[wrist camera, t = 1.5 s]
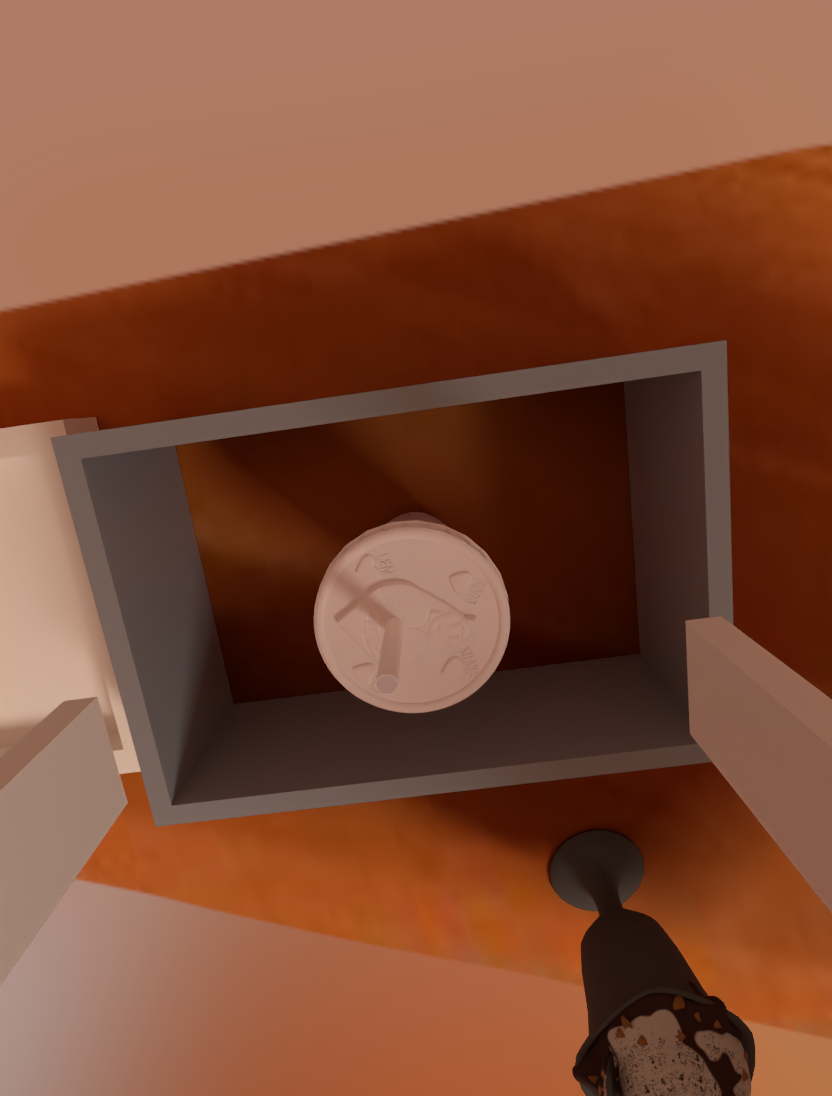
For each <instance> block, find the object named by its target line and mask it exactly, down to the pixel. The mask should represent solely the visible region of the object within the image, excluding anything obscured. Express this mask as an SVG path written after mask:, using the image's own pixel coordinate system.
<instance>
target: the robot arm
mask: <svg viewBox="0 0 832 1096" xmlns="http://www.w3.org/2000/svg"><path fill="white" fill-rule="evenodd" d="M686 647H687V673H688V699H689V725H690V734H691V736H692V737H693V738H694V740H695V741H696V742H697V743H698V745H699V746H700V747H701V748H702V750H703V751H704V752H705V753H706V755H707V756H708V757H709V759H710V760H711V761H712V762H713V764H714V765H715V766H716V767H717V769H718V770H719V771H720V773H721V774H722V775H723V776H724V778H725V779H726V780H727V781H728V783H729V784H730V785H731V786H732V788H733V789H734V790H735V792H736V793H737V794H738V795H739V797H740V798H741V799H742V800H743V802H744V803H745V804H746V805H747V807H748V808H749V809H750V811H751V812H752V813H753V814H754V816H755V817H756V818H757V819H758V821H759V822H760V823H761V825H762V826H763V827H764V828H765V830H766V831H767V832H768V833H769V835H770V836H771V837H772V838H773V840H774V841H775V842H776V844H777V845H778V846H779V847H780V849H781V850H782V851H783V852H784V854H785V855H786V856H787V857H788V859H789V860H790V861H791V863H792V864H793V865H794V866H795V868H796V869H797V870H798V871H799V873H800V874H801V875H802V877H803V878H804V879H805V880H806V882H807V883H808V884H809V885H810V887H811V888H812V889H813V890H814V892H815V893H816V894H817V896H818V897H819V898H820V899H821V901H822V902H823V903H824V904H825V906H826V907H827V908H828V909H829V911H830V912H831V913H832V699H831V698H829V697H828V696H827V695H825V694H824V693H823V692H821V691H820V690H819V689H817V688H816V687H815V686H813V685H812V684H811V683H809V682H808V681H807V680H805V679H804V678H803V677H801V676H800V675H799V674H797V673H796V672H795V671H793V670H792V669H791V668H789V667H788V666H787V665H785V664H784V663H783V662H781V661H780V660H779V659H777V658H776V657H775V656H773V655H772V654H771V653H769V652H768V651H767V650H766V649H764V648H763V647H762V646H760V645H759V644H758V643H756V642H755V641H754V640H752V639H751V638H750V637H748V636H747V635H746V634H744V633H743V632H742V631H740V630H739V629H738V628H736V627H735V626H734V625H732V624H731V623H730V622H728V621H727V620H726V619H724V618H723V617H722V616H717V617H710V618H702V619H694V620H686ZM127 803H128V802H127V799H126V795H125V792H124V788H123V785H122V781H121V778H120V774H119V771H118V767H117V764H116V760H115V757H114V753H113V750H112V746H111V743H110V739H109V736H108V732H107V729H106V725H105V722H104V719H103V715H102V712H101V708H100V705H99V701H98V698H97V697H91V698H83V699H76V700H68V701H63V702H62V703H61V704H60V705H59V706H58V707H57V708H56V709H54V710H53V711H52V712H51V713H50V714H49V715H48V716H47V717H46V718H44V719H43V720H42V721H41V722H40V723H39V724H38V725H37V726H35V727H34V728H33V729H32V730H31V731H30V732H29V733H28V734H26V735H25V736H24V737H23V738H22V739H21V740H20V741H19V742H17V743H16V744H15V745H14V746H13V747H12V748H11V749H10V750H8V751H7V752H6V753H5V754H4V755H3V756H2V757H1V758H0V986H1V985H2V983H3V982H4V980H5V979H6V977H7V976H8V974H9V973H10V972H11V970H12V969H13V967H14V966H15V964H16V963H17V961H18V960H19V959H20V957H21V956H22V954H23V953H24V951H25V950H26V949H27V947H28V946H29V944H30V943H31V941H32V940H33V938H34V937H35V936H36V934H37V933H38V931H39V930H40V928H41V927H42V926H43V924H44V923H45V921H46V920H47V918H48V917H49V915H50V914H51V912H52V911H53V910H54V908H55V907H56V905H57V904H58V902H59V901H60V900H61V898H62V897H63V895H64V894H65V892H66V891H67V890H68V888H69V886H70V885H71V884H72V882H73V881H74V879H75V878H76V877H77V875H78V874H79V872H80V871H81V869H82V868H83V866H84V865H85V864H86V862H87V861H88V859H89V858H90V856H91V855H92V854H93V852H94V851H95V849H96V848H97V846H98V845H99V843H100V842H101V841H102V839H103V838H104V836H105V835H106V833H107V832H108V831H109V829H110V828H111V826H112V825H113V823H114V822H115V820H116V819H117V818H118V816H119V815H120V813H121V812H122V810H123V809H124V807H125V806H126V805H127Z"/></svg>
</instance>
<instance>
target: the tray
mask: <svg viewBox="0 0 832 1096" xmlns="http://www.w3.org/2000/svg"><path fill="white" fill-rule="evenodd" d="M93 431H99V427H98V423H97V419H96V417H89V418H76V419H62V420H56V421H49V422H42V423H35V424H28V425H21V426H14V427H7V428H1V429H0V758H1V757H2V756H3V755H4V754H5V753H6V752H7V751H8V750H10V749H11V748H12V747H13V746H14V745H15V744H16V743H17V742H19V741H20V740H21V739H22V738H23V737H24V736H25V735H26V734H28V733H29V732H30V731H31V730H32V729H33V728H34V727H35V726H37V725H38V724H39V723H40V722H41V721H42V720H43V719H44V718H46V717H47V716H48V715H49V714H50V713H51V712H52V711H53V710H54V709H56V708H57V707H58V706H59V705H60V704H61V703H62V702H63V701H68V700H76V699H83V698H91V697H97V698H98V701H99V705H100V708H101V712H102V715H103V719H104V722H105V725H106V729H107V732H108V736H109V739H110V743H111V746H112V750H113V753H114V757H115V760H116V764H117V767H118V771H119V774H123V773H131V772H139V771H141V770H140V766H139V763H138V759H137V755H136V752H135V748H134V744H133V741H132V737H131V733H130V730H129V726H128V722H127V718H126V715H125V711H124V707H123V704H122V700H121V696H120V693H119V689H118V685H117V682H116V678H115V674H114V671H113V667H112V663H111V659H110V656H109V652H108V648H107V645H106V641H105V637H104V634H103V630H102V626H101V623H100V619H99V615H98V612H97V608H96V604H95V600H94V597H93V593H92V589H91V586H90V582H89V578H88V575H87V571H86V567H85V564H84V560H83V556H82V553H81V549H80V545H79V541H78V538H77V534H76V530H75V527H74V523H73V519H72V516H71V512H70V508H69V505H68V501H67V497H66V494H65V490H64V486H63V482H62V479H61V475H60V471H59V468H58V464H57V460H56V457H55V453H54V449H53V446H52V442H51V437H58V436H65V435H72V434H79V433H86V432H93Z"/></svg>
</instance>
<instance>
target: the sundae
mask: <svg viewBox="0 0 832 1096" xmlns="http://www.w3.org/2000/svg"><path fill="white" fill-rule="evenodd" d="M549 873H550V880H551V884H552V887H553V888H554V890H555V892H556V893H557V894H558V895H559V897H560V898H561V899H563V900H564V901H565V902H567V903H568V904H570V905H572V906H574V907H576V908H580V909H583V910H589V911H598V912H599V915H600V916H599V917H598V918H597V919H596V920H595V922H594V923H593V924H592V925H591V926H590V928H589V929H588V930H587V931H586V933H585V935H584V937H583V940H582V942H581V962H582V975H583V982H584V989H585V995H586V1002H587V1009H588V1022H589V1036H588V1037H587V1039H586V1040H585V1042H584V1044H583V1045H582V1047H581V1048H580V1050H579V1052H578V1054H577V1056H576V1063H575V1066H574V1067H573V1076H574V1077H575V1079H576V1080H577V1081H578V1082H579V1083H580V1085H581V1088H582V1090H583V1091H584V1093H585V1095H586V1096H750V1094H751V1081H752V1076H753V1072H754V1067H755V1045H754V1039H753V1035H752V1032H751V1031H750V1030H749V1028H748V1027H747V1026H746V1024H745V1023H744V1022H743V1021H742V1020H741V1019H740V1018H739V1017H738V1016H736V1015H735V1014H733V1013H731V1012H730V1011H728V1010H727V1009H726V1007H725V1005H724V1003H723V1002H722V1001H721V1000H720V999H719V998H717V997H715V996H708V995H707V993H706V992H705V991H704V989H703V988H702V986H701V985H700V983H699V981H698V980H697V978H696V977H695V975H694V973H693V972H692V970H691V969H690V967H689V965H688V964H687V962H686V960H685V959H684V957H683V956H682V954H681V952H680V951H679V949H678V948H677V947H676V945H675V944H674V943H673V941H672V940H671V939H670V937H669V936H668V935H667V934H666V932H665V931H664V930H663V928H662V927H661V926H660V925H659V924H658V922H657V921H655V920H654V919H652V918H651V917H649V916H647V915H645V914H643V913H639V912H636V911H632V910H628V909H623V907H622V903H623V902H625V901H626V900H627V899H628V898H629V897H630V896H631V895H632V894H633V893H634V892H635V891H636V890H637V888H638V887H639V885H640V883H641V881H642V877H643V874H644V863H643V858H642V855H641V853H640V852H639V850H638V848H637V847H636V846H635V844H634V843H633V842H632V841H630V840H629V839H627V838H626V837H624V836H622V835H620V834H619V833H615V832H611V831H604V830H595V831H588V832H583V833H580V834H578V835H576V836H574V837H572V838H570V839H569V840H567V841H565V842H564V843H563V844H562V845H561V847H560V848H559V849H558V850H557V851H556V853H555V854H554V856H553V859H552V861H551V865H550V869H549Z"/></svg>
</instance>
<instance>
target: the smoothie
mask: <svg viewBox="0 0 832 1096" xmlns="http://www.w3.org/2000/svg"><path fill="white" fill-rule="evenodd" d="M314 631H315V638H316V642H317V646H318V648H319V651H320V654H321V656H322V658H323V660H324V662H325V664H326V665H327V667H328V669H329V670H330V672H331V673H332V674H333V676H334V677H335V678H336V679H337V680H338V681H339V683H340V684H341V685H343V686H344V687H345V688H346V689H347V690H348V691H349V692H351V693H352V694H353V695H355V696H356V697H358V698H360V699H361V700H363V701H365V702H367V703H369V704H371V705H374V706H376V707H379V708H382V709H386V710H389V711H395V712H402V713H423V712H430V711H436V710H439V709H443V708H446V707H449V706H451V705H454V704H456V703H458V702H460V701H462V700H464V699H465V698H467V697H469V696H470V695H471V694H473V693H474V692H475V691H477V690H478V689H479V688H480V687H481V686H482V685H483V684H484V683H485V682H486V681H487V680H488V679H489V678H490V677H491V675H492V674H493V673H494V671H495V670H496V668H497V666H498V665H499V663H500V661H501V659H502V657H503V655H504V652H505V649H506V647H507V643H508V639H509V632H510V609H509V603H508V594H507V591H506V588H505V585H504V582H503V579H502V576H501V573H500V572H499V570H498V569H497V567H496V566H495V564H494V563H493V561H492V560H491V559H490V557H489V556H488V554H487V553H486V552H485V551H484V550H483V549H482V548H481V547H479V546H478V545H477V544H476V543H475V542H474V541H472V540H471V539H470V538H469V537H468V536H466V535H464V534H462V533H460V532H458V531H456V530H453V529H451V528H449V527H447V526H446V525H445V524H444V523H443V522H441V521H440V520H439V519H437V518H436V517H434V516H432V515H429V514H426V513H422V512H409V513H404V514H401V515H399V516H397V517H395V518H393V519H392V520H390V521H389V522H388V523H387V524H384V525H381V526H379V527H376V528H373V529H370V530H367V531H366V532H364V533H363V534H361V535H360V536H358V537H357V538H355V539H354V540H352V541H351V542H349V543H348V544H346V545H345V547H344V548H343V549H342V550H341V551H340V552H339V554H338V555H337V556H336V557H335V558H334V559H333V561H332V562H331V563H330V564H329V567H328V569H327V571H326V573H325V575H324V577H323V580H322V582H321V584H320V586H319V591H318V594H317V598H316V602H315V608H314Z"/></svg>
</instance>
